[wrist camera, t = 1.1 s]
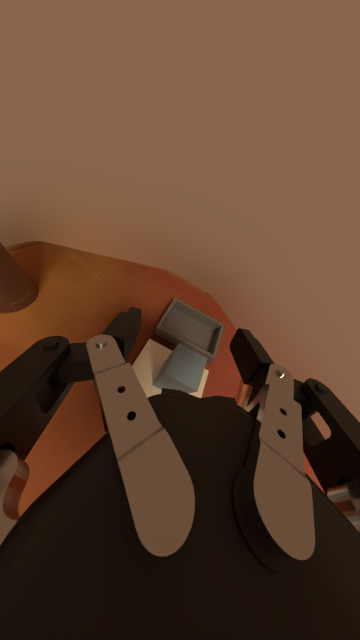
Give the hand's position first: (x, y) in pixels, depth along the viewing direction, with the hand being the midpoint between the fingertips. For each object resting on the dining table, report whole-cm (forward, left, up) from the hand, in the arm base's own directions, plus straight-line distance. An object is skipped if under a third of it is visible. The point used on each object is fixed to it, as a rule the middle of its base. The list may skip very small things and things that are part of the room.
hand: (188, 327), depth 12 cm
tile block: (+3, +1, -22) cm, 22 cm away
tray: (+3, +15, -24) cm, 28 cm away
